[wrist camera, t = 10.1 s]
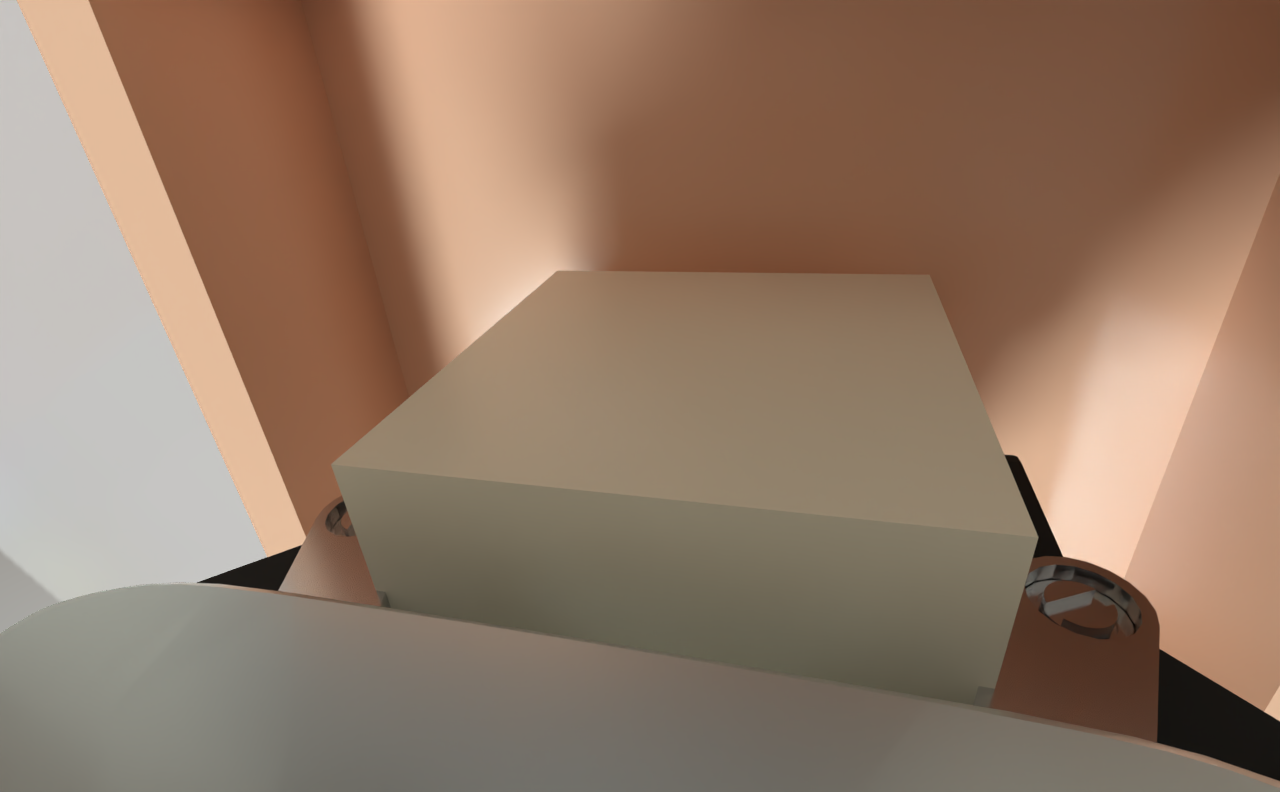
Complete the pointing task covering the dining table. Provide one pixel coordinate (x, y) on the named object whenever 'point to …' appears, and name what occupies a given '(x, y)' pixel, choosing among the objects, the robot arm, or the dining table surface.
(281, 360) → the tub
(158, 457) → the dining table surface
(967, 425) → the stone block
